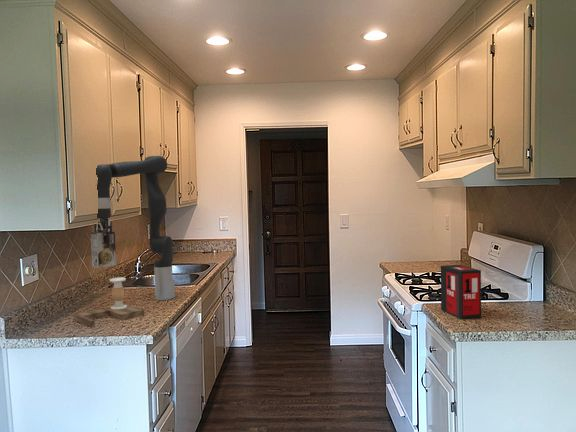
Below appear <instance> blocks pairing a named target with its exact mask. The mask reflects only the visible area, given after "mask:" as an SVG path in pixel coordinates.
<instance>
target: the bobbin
mask: <svg viewBox="0 0 576 432" xmlns="http://www.w3.org/2000/svg"><path fill="white" fill-rule="evenodd" d="M126 281H127V280H126V277H123V276H122V277H121V276H119V277H118V276H117V277H112V278H109V282H110V283H113V287H112V288H111V289H112V301H113V302H114V304H113V305H111V306H110V307H111V310H123V309H126V308H127V305H128V304H126V305H123V304H124V300H125V289H124V288H125V286H124V285H123V282H126Z"/></svg>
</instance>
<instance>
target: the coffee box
mask: <svg viewBox="0 0 576 432" xmlns="http://www.w3.org/2000/svg"><path fill="white" fill-rule="evenodd" d="M105 232H106V231H105ZM115 232H116V231H112V234H110V235H109V239H110V243H109V244H105V243H104V233H103V232H90V246H91V249H90V250H91V266H92V267H93V268H97V269H98V268H100V269H101V268H105V267H107V268H108V267H113V266H117V251H116V247H117V246H116V233H115Z"/></svg>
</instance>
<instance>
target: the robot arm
mask: <svg viewBox="0 0 576 432" xmlns="http://www.w3.org/2000/svg"><path fill="white" fill-rule="evenodd" d="M97 165H98V166H97V168H96V175H97V177H98V180H97V183H96V185H97V190H98V214H97V218H100V222H98V223H99V224H94V223H93V231H94V232H103V233H104V243H105V244H109V243H110V239H109V235H110V234H112V232H113V222H112V220H109V219H110V218H111V217H112V205H111V204H112V203H111V196H110V194H111V193H110V187H111V184H112V179H113V178H124V177H128V176H133V175H134V176H135V175H141V174H144V179H145V184H146V193H147V206H148V217H149V218H148V219H149V220H148V221H149V249H150V251H151V252H152V253H153V254H161V257H160V258H159V259H157V260H155V261H154V262H153V267H154V268H153V271H154V274H153V275H154V291H155V292H154V294H155V296H154V297H155V300H157V301H166V300H168V301H169V300H171V299H174V298H176V292H175V291H176V288H175V287H176V286H175V280H174V278H173V276H174V275H173V260H174V242H173V241H174V240H173V239H172V237H171V236H169V235H167V236H166V235H164V236H163V235H161V234H160V233H161V232H160V228H161V224H162V222H163V220H164V218H165V217H166V214H167V210H168V209H167V198H166V195H165V193H164V191H163V189H162V188H161V186H160V183H159V174H162V173H164V172H165V171H166V170H167V168H168V162H167V159H166V158H165V157H164V156H161V155H149V156H147V157H145V158H144V160H135V161H133V160H132V161H131V160H130V161H119V162H113V163H108V164H103V163H102V164H97ZM97 218H96V219H97ZM105 231H106V232H105Z"/></svg>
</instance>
